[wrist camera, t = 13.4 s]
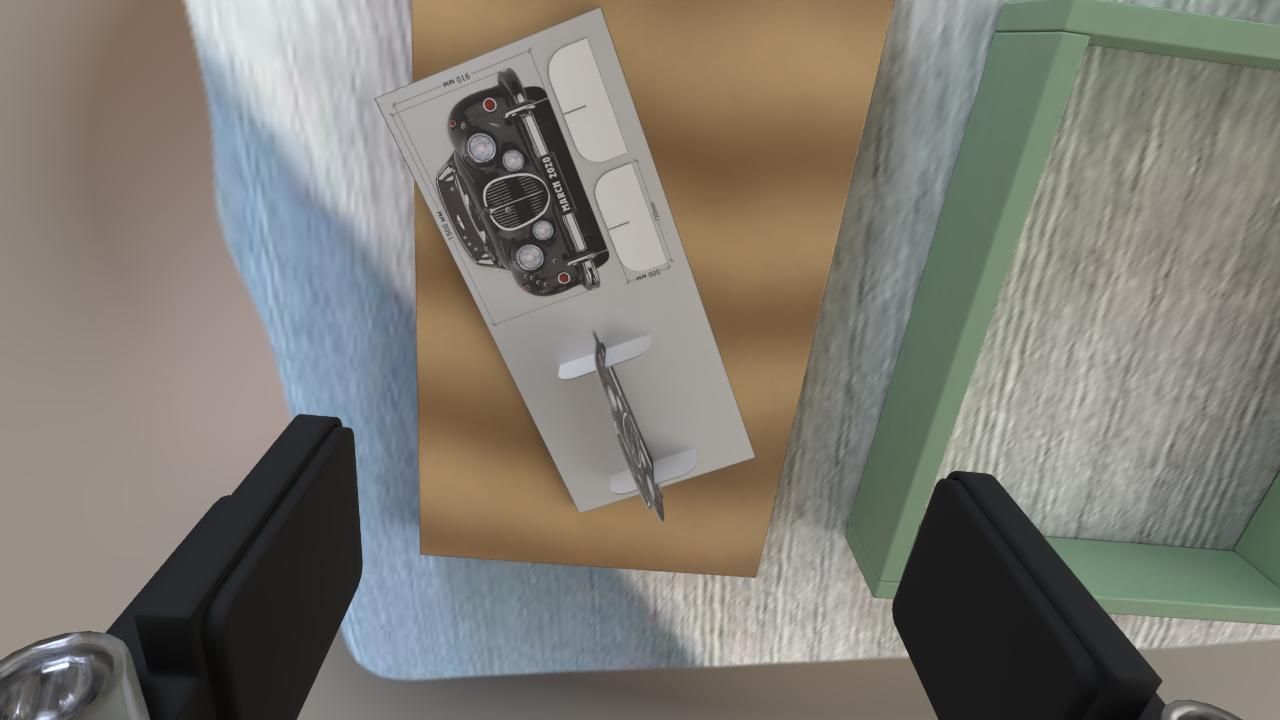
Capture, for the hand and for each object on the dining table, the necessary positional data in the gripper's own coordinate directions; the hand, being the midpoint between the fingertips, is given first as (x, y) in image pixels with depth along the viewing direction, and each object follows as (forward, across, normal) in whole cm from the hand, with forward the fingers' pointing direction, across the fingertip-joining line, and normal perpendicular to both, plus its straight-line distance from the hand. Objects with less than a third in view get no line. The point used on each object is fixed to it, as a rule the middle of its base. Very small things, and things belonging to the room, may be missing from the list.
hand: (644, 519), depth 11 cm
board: (+14, 0, +1) cm, 14 cm away
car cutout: (+12, +1, +1) cm, 12 cm away
